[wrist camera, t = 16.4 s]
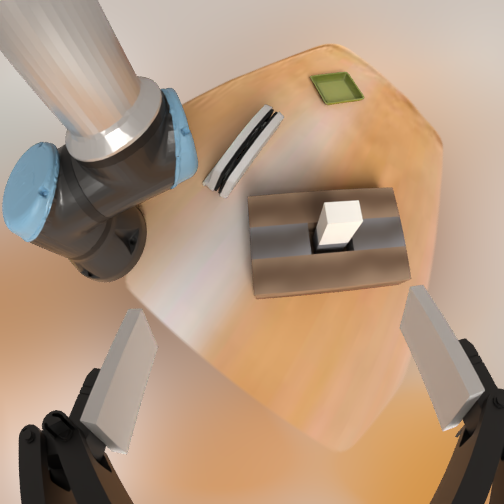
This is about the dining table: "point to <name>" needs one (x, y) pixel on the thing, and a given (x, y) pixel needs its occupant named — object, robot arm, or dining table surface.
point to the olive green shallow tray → (337, 88)
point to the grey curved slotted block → (253, 141)
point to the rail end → (336, 226)
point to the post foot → (327, 264)
